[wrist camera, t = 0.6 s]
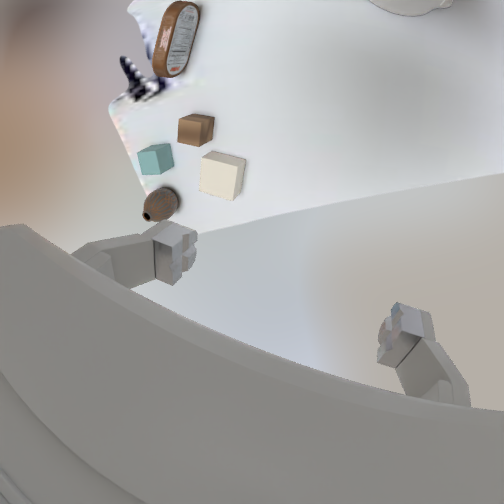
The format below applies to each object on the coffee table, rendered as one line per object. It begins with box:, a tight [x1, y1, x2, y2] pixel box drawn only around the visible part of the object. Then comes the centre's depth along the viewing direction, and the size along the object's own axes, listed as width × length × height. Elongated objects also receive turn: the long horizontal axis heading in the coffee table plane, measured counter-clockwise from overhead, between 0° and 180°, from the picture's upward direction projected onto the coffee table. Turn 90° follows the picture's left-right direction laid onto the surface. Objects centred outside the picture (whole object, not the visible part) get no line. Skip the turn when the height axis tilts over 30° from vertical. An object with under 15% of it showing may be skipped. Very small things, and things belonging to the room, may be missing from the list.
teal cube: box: [137, 144, 174, 175], centre depth 52 cm, size 5×5×5 cm
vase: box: [142, 188, 178, 222], centre depth 57 cm, size 7×7×9 cm
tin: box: [152, 1, 200, 78], centre depth 34 cm, size 15×3×8 cm, turn 162°
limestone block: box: [199, 151, 246, 201], centre depth 50 cm, size 7×7×4 cm
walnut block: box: [177, 114, 215, 147], centre depth 45 cm, size 4×4×5 cm
